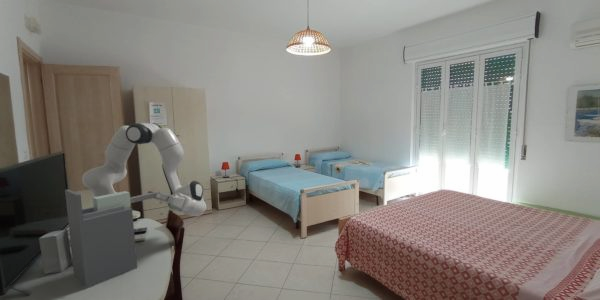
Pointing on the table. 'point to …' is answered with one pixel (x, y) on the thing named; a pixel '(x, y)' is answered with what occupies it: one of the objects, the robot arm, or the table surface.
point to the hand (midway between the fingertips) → (152, 193)
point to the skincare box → (55, 251)
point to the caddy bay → (100, 241)
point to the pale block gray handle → (118, 200)
